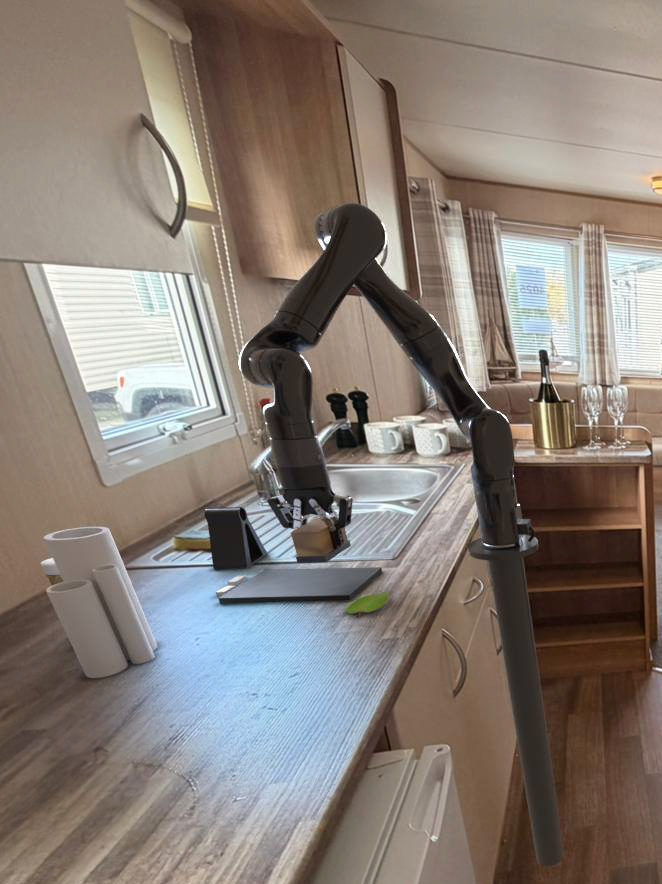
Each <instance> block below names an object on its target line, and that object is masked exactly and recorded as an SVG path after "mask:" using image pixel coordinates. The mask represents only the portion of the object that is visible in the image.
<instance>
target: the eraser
mask: <svg viewBox="0 0 662 884" xmlns="http://www.w3.org/2000/svg"><path fill="white" fill-rule="evenodd" d="M341 530H342V534H343V538H344V544H343V545H342V547H340V548H339V549H334V548H333V544H332V541H331V537H330V533H329V531H330V530H329V528H328V527H327V525H326V524H325V522H324V521H322V520H321V519H320V517H315V518H314V519H312V520H310V521H308V522H307V524H305V525H303V526H301V527H300V528H298V529H296V530H294V529H293V530H292V531H290V535H291V539H292V543H293V546H294V551H295V553H296V556H295V559H296V563H297V564H308V563H309V564H311V563H313V564H316V563H317V564H318V563H328V562H329V561H331V560H332V559H334V558H335V557H337V556H338V555H339V554H341V553H342V552H344V551H345V550H346V549H348V548H350V547H351V545H352V544H351V541H350V539H348V535H347V532H346V527H344V528H342V529H341Z"/></svg>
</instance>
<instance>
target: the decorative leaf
mask: <svg viewBox="0 0 662 884" xmlns="http://www.w3.org/2000/svg"><path fill="white" fill-rule="evenodd" d="M389 598H390V592H385V593H373V594H367V595H364V596H361V597H359V598H357V599H356V600H354V601H353V602H352V603H350V604H349V606H347V608H346V612H347V613H348V614H350V615H353V614H354V615H355V614H358V615H357V616H356V617H357V618H359V617H360V616H361V614H362V613H366V614H367V613H371V612H374V611H377V610H379V609H380V608H382V607H383V606H384V605H385V604H387V602H388V600H389Z"/></svg>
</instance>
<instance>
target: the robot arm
mask: <svg viewBox="0 0 662 884" xmlns="http://www.w3.org/2000/svg"><path fill="white" fill-rule="evenodd" d="M313 230H314V234H315V237H316V239H317V241H318V243H319V245H320V246H321V248H322V250H323V251H322V253H321V254H320V256H319V257H318V258H317V259H316V261H315V262H314V264H313V265H312V266H310V268H309V269H308V270H307V271H305V273H304V274H303V275H302V276H301V277H300V278H299V280H297V281H296V283H295V284H294V285H293V286H292V287H291V288H290V290H289V291H288V292H287V294H286V296H285V297H284V299H283V301H282V302H281V304H280V306H279V307H278V309H277V310H276V313H275V314H274V316H273V318H272V320H271V321H269V322H268V323H267V324H266V325H265V326H263V327H262V328H261V329H260V330H259V331H258V332H257V333H256V334H255V335H254V336H253V337H251V338H250V339H249V341H248V342H246V344H245V345H244V346H243V348H242V349H241V352H240V355H239V359H238V366H239V370H240V372H241V374H242V376H243V377H244V378H245V379H246V380H247V381H248V382H249V383H251V384H253V385H255V386H257V387H261V388H269V389H273V402H270V403H268V404H266V405H264V406H263V408H262V415H263V419H264V423H265V426H266V430H267V434H268V437H269V442H270V450H271V454H272V460H273V461H274V465H275V468H276V473H277V475H278V478H279V483H280V486H281V488H282V489H283V492H282V495H275V496H272V497H270V498H268V499H267V500H266V501H267V504H268V505H269V507H270V508H271V510H272V512H273V513H274V515H275V516H276V518H277V520H278V521H279V524H280V525H281V526H282V528H284V529H291V530H293V531H294V530H296V529H298V528H300V527H301V526H303V525H305V524H307V523H308V522H309V521H308V519H309V518H310V515H314V516H318V518H320V519H321V520H322V521H324V522H325V524H326V525H327V527H328V528H329V530H330V531H329V533H330V537H331V541H332V544H333V548H334V549H339V548H340V547H342V545H343V544H344V538H343V534H342V530H341V529H342V528H344V527H345V528H346V527H347V526H349V525H350V524H352V514H353V513H352V511H353V497H352V496H351V495H346V496H343V495H338V494H336V492H335V491H334V490H333V489H332V485H331V484H332V483H331V478H330V474H329V471H328V467H327V462H326V458H325V455H324V452H323V451H324V450H323V447H322V445H321V442H320V440H319V436H318V433H317V430H316V425H315V422H314V418H313V415H312V408H313V391H314V389H313V388H314V386H313V385H314V382H313V381H314V380H313V378H314V377H313V373H312V370H311V369H312V368H311V367H310V365H309V363H308V362H307V359H306V358H305V357H304V356H303V355H302V354H301V353H302V352H306V351H310V350H313V349H315V348H316V347H317V346H318V345H319V344H320V342H321V340H322V338H323V337H324V335H325V333H326V332H327V330H328V328H329V326H330V324H331V322H332V320H333V319H334V317H335V316H336V313H337V311H338V309H339V308H340V306H341V305H342V303H343V301H344V300H345V298H346V297H347V295H348V294H349V292H350V291H351V289H352V287H353V286H354V287H355V288H356V290H357V291H358V292H359V293H360V295H361V296H362V297H363V298H364V299H365V301H366V302H367V303H368V305H369V306H370V308H371V309H372V310H373V312H374V313H375V315H376V316H377V317H378V318H379V320H380V321H381V322H382V323H383V325H384V326H385V327H386V329H387V330H388V332H389V333H390V335H391V336H392V338H393V339H394V340H395V342H396V343H397V345H398V346H399V348H401V351H402V352H403V353H404V354H405V355H406V358H408V360H409V361H410V362H411V364H412V365H413V366H414V367H415V369H416V370H417V371H418V372H419V374H420V375H421V376H422V377H423V379H424V380H425V381H426V383H427V384H428V385H429V386H430V387H431V388H432V390H434V392H435V393H436V394H437V395H438V397H439V398H440V400H441V401H442V403H443V404H444V405H445V408H447V410H448V412H449V413H450V415H451V417H452V418H453V420H454V422H455V424H456V425H457V427H458V430H459V431H460V432H461V434H462V436H463V437H464V438H465V439H466V440H467V441H468V442H469V443H470V445H471V453H472V459H473V460H472V464H471V465H470V474H471V480H472V481H471V482H472V486H473V493H474V498H475V504H476V512H477V517H478V518H477V519H478V523H479V529H480V534H481V538H482V544H483V547H485V548H487V549H493V550H502V549H510V548H516V547H521V545H522V544H523V542H524V541H525V535H530V536H531V537H530V538H529V539H528V541H529V542H531V541H532V539H533V538H534V537H535V536H536V531H535V530H534V528H533V527H532V521H531V520H532V519H531V518H523V513H522V508H521V507H522V506H521V504H520V503H519V502H518V496H517V488H516V482H515V481H516V480H515V474H514V473H515V472H514V467H515V462H516V461H515V460H516V459H515V449H514V448H515V447H514V440H513V438H514V437H513V432H512V428H511V424H510V421H509V420H508V418H507V417H506V416H505V414H502V413H501V412H500V411H498V410H495V409H493V408H491V407H489V406H488V405H487V403H486V402H485V401H484V400H483V399H482V397H481V396H480V395H479V394H478V392H477V391H476V390H475V388H474V387H473V385H472V384H471V383H470V381H469V379H468V377H467V375H466V373H465V370H464V367H463V365H462V362H461V360H460V358H459V355H458V352H457V351H456V348H455V347H454V345H453V344H452V341H451V340H450V338H449V337H448V336H447V334H446V333H445V331H444V330H443V328H442V327H441V325H440V324H439V322H438V321H437V320H436V318H435V317H434V315H432V314H431V313H430V312H429V310H427V308H425V307H423V305H422V304H420V303H419V302H418V301H416V300H415V299H414V298H413V297H411V296H410V295H409V294H408V293H407V292H406V291H404V290H402V288H400V287H399V285H397V284H396V283H395V282H394V281H393V280H392V279H391V278H390V276H389V274H388V273H387V272H386V271H385V269H384V268H383V267H382V265H381V264H380V263H379V261H378V259H377V258H378V257H379V256H380V255H381V254H382V252H383V251H384V250H385V248H386V245H387V239H388V238H387V237H388V235H387V230H386V228H385V225H384V223H383V221H382V220H381V218H380V217H379V216H378V215H377V213H376V212H375V211H373V209H371V208H369V207H367V206H366V205H363V204H360V203H358V202H345V203H341V204H338V205H335V206H333V207H331V208H328V209H326V210H324V211H322V212H320V213H319V214H318V215H316V216H315V219H314V221H313ZM334 502H335V503H336V504H335V505H336V507H337V508H338V516H337V512H336V510H335V508H334V507H333V504H334ZM287 505H289V506H291V507H292V508H293V512H292V513H291V510H290V509H289V508H288V506H287ZM530 533H531V534H530Z"/></svg>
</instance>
